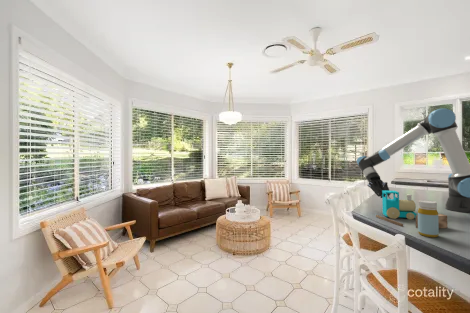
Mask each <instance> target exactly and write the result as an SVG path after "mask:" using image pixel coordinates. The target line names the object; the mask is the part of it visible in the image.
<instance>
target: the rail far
mask: <svg viewBox="0 0 470 313" xmlns="http://www.w3.org/2000/svg"><path fill="white" fill-rule="evenodd" d="M377 217H378V218H377ZM375 218H377V219H380V220H383V221H386V222H388V223H391V224H394V225H396V226H399V227H404V223H401V222H399V221H396V220H393V219H391V218H390V219H389V217H388V218H387V217H386V216H385V217H384V216H382V215H379V214H376V215H375Z"/></svg>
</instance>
